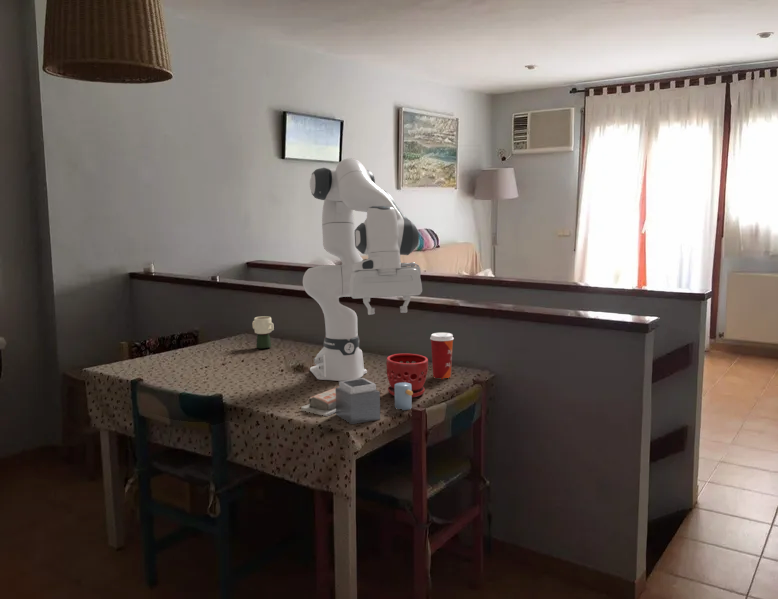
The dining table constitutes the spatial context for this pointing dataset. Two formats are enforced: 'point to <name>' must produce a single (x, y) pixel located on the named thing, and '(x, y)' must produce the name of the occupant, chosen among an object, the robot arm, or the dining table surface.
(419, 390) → the plant pot
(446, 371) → the coffee cup
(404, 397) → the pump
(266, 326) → the character mug
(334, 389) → the packaged product
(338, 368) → the robot arm
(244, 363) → the dining table surface
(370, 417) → the grey hollow box
